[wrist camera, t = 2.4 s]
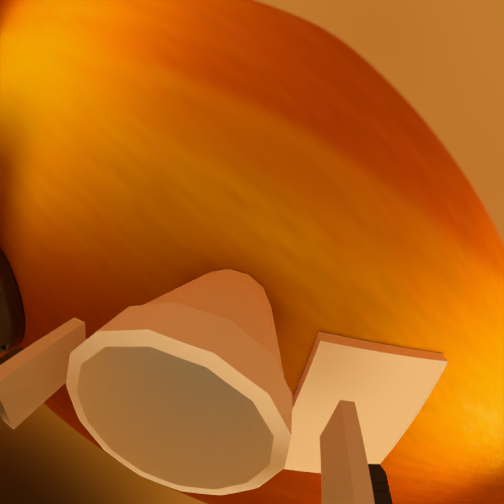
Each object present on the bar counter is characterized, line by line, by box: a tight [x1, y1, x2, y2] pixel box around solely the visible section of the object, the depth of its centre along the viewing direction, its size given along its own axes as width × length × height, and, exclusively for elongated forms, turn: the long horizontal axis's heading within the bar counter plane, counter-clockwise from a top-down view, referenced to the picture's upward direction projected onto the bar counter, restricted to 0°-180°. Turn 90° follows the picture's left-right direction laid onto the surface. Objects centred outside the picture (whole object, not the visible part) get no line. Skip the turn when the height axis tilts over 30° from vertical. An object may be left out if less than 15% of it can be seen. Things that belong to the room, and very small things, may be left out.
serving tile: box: [283, 331, 448, 473], centre depth 22 cm, size 12×16×2 cm
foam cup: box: [66, 269, 292, 495], centre depth 15 cm, size 10×9×13 cm
